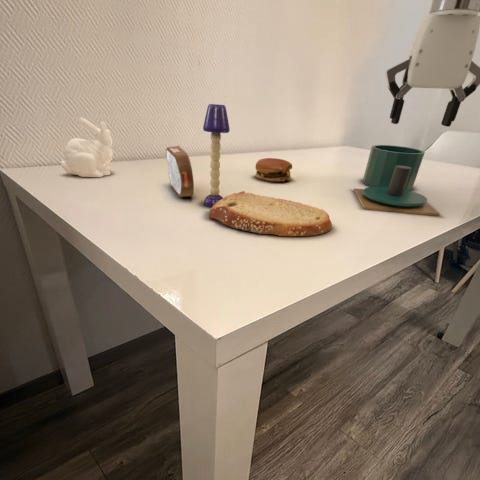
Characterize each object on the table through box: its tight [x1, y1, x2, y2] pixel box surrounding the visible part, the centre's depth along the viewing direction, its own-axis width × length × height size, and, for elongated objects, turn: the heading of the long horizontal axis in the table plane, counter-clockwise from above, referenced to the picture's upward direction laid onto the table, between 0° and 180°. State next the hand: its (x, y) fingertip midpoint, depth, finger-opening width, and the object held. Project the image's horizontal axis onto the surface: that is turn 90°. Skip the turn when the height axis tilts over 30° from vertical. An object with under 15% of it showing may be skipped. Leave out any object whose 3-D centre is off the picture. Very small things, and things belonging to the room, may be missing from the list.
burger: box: [255, 157, 293, 183], centre depth 85 cm, size 10×9×5 cm
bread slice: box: [208, 190, 333, 237], centre depth 58 cm, size 18×18×4 cm
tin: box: [165, 145, 195, 198], centre depth 69 cm, size 15×3×8 cm, turn 20°
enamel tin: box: [362, 144, 426, 191], centre depth 85 cm, size 12×12×8 cm
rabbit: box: [60, 116, 114, 178], centre depth 75 cm, size 12×9×12 cm
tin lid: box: [363, 165, 428, 207], centre depth 72 cm, size 13×13×7 cm
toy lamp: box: [202, 103, 231, 208], centre depth 61 cm, size 5×5×17 cm
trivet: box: [353, 187, 440, 217], centre depth 74 cm, size 15×15×1 cm
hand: (419, 124), depth 65 cm, fingers open, 9 cm apart
